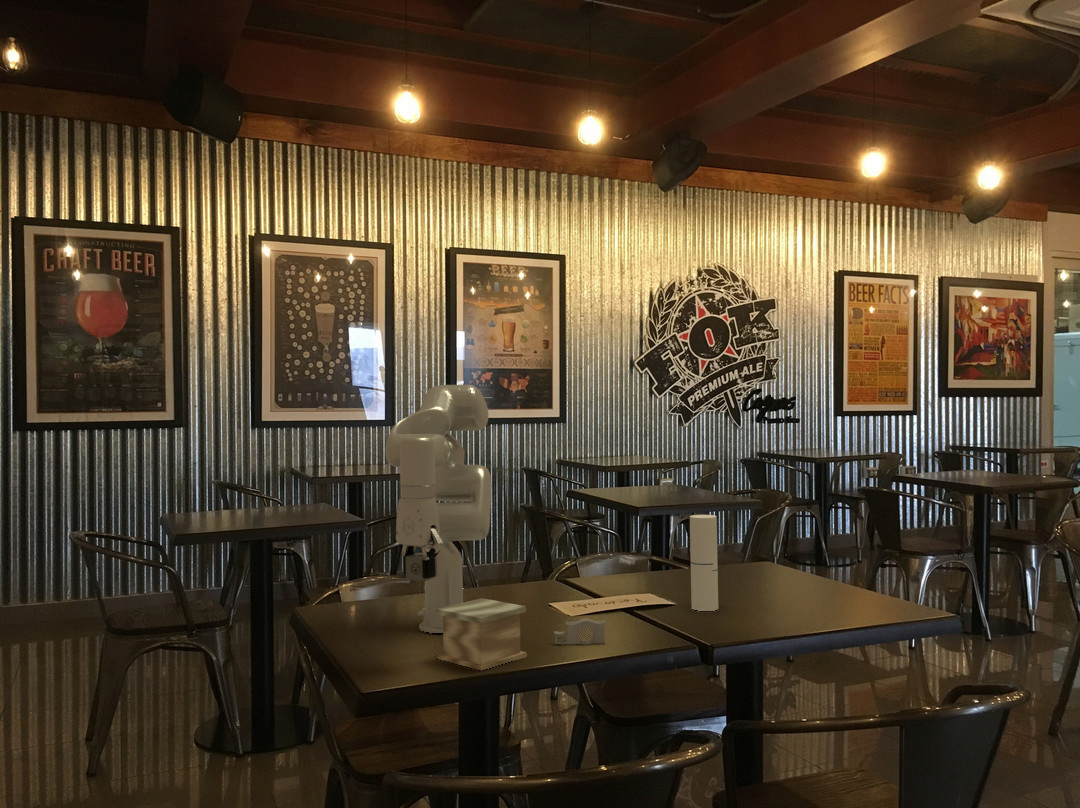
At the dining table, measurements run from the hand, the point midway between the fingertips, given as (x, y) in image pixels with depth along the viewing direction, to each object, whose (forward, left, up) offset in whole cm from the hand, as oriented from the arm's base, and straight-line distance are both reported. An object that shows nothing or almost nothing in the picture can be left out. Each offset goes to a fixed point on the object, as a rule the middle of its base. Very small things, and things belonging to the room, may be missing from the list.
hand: (419, 574), depth 195 cm
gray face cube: (0, +1, -1) cm, 1 cm away
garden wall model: (+17, +34, -20) cm, 43 cm away
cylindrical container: (+21, +82, -19) cm, 87 cm away
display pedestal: (+8, +11, -19) cm, 23 cm away
